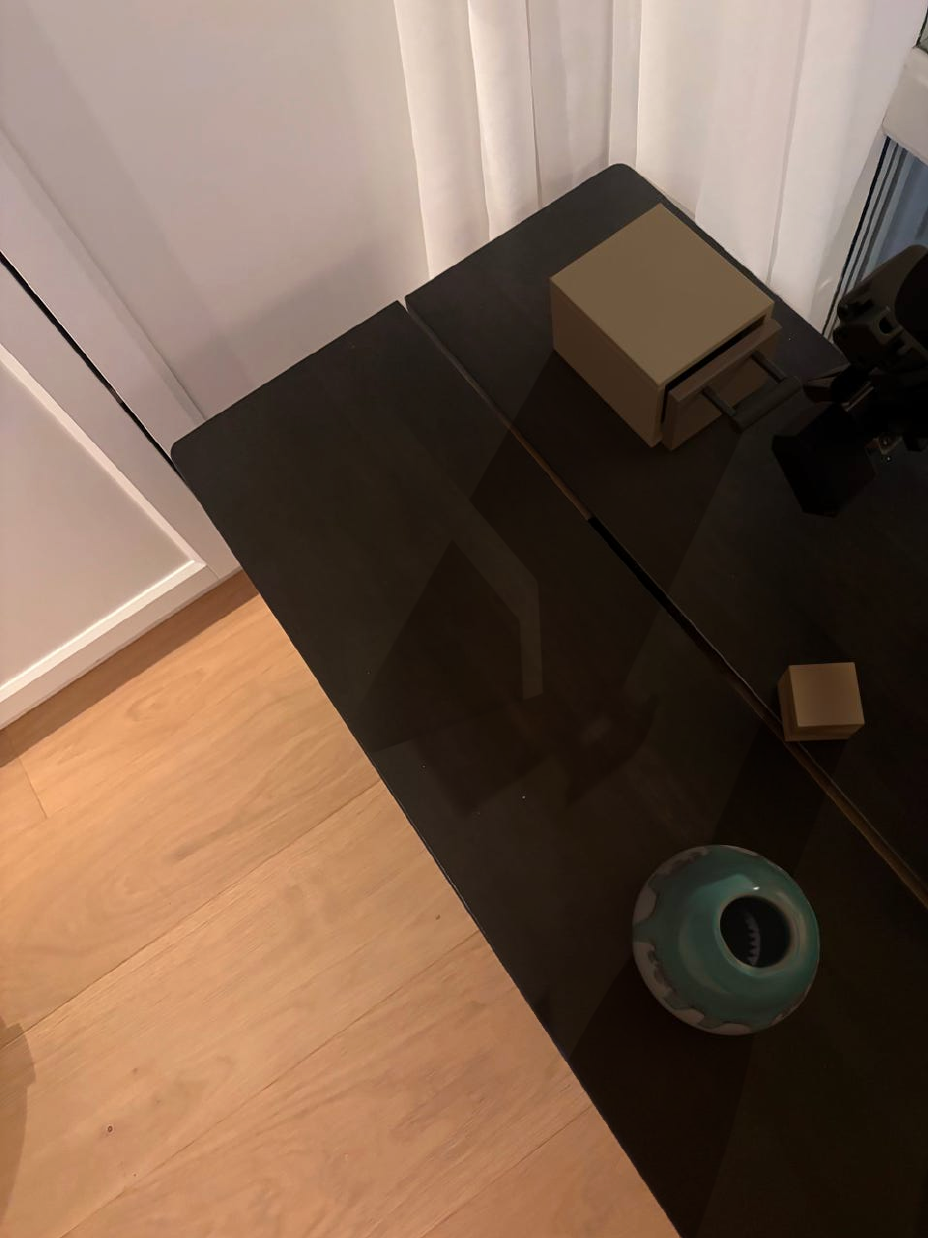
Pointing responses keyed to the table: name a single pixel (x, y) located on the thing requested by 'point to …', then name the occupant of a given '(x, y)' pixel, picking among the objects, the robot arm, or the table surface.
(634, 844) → the table surface
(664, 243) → the beige drawer cabinet
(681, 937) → the vase
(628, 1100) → the table surface
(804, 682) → the block
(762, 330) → the pull-out drawer box
